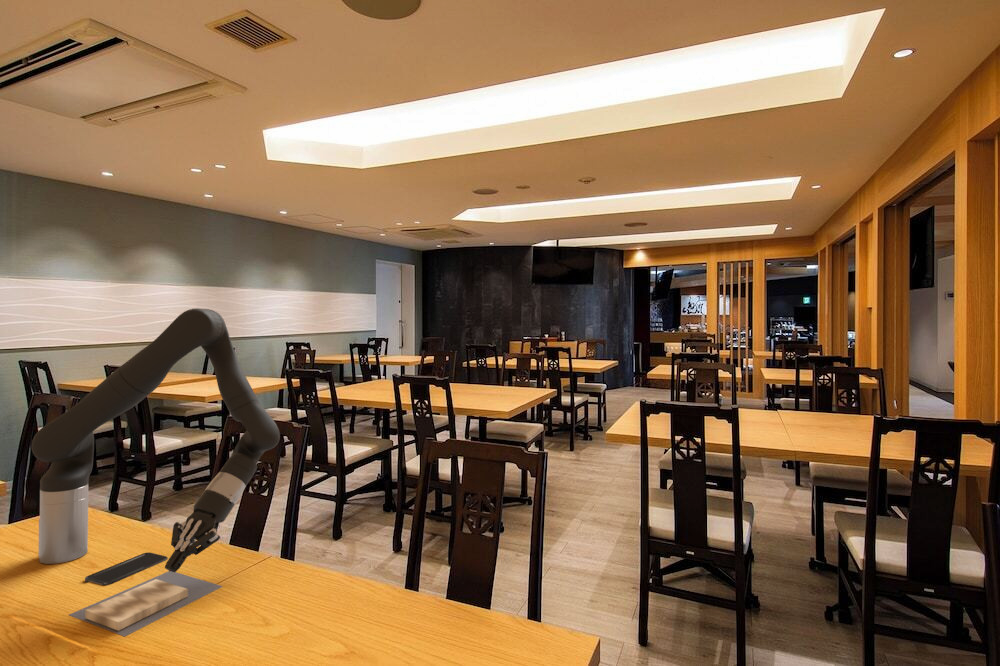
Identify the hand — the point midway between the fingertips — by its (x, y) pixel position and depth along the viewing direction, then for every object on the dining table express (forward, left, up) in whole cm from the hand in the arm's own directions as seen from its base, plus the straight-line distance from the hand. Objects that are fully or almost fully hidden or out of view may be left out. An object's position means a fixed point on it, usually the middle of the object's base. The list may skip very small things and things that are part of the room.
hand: (169, 570), depth 115 cm
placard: (0, 0, -4) cm, 4 cm away
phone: (-19, +3, -6) cm, 20 cm away
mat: (-1, -4, -5) cm, 6 cm away
